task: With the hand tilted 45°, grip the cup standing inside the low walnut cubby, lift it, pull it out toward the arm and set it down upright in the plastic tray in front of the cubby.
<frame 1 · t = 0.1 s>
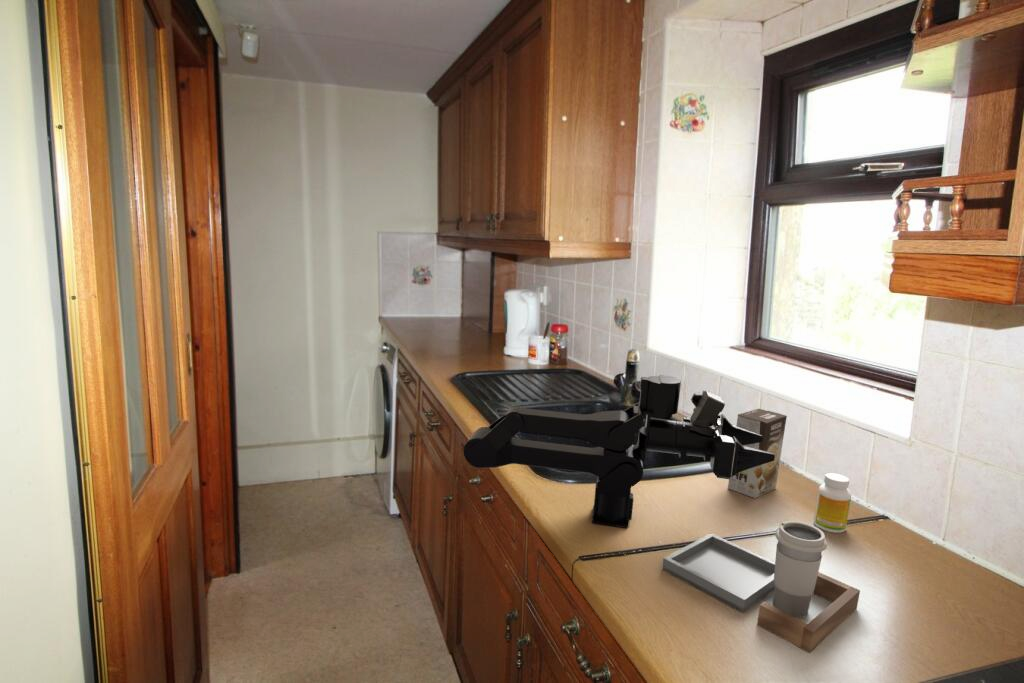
hand: (768, 447, 108), 17 cm above the worktop, tool horizontal, fingers open, 9 cm apart
cup: (789, 608, 91), resting in cubby
tray: (724, 575, 98), on the worktop
cubby: (790, 607, 91), on the worktop
coffee box: (751, 489, 132), on the worktop
supplement bottle: (829, 527, 117), on the worktop
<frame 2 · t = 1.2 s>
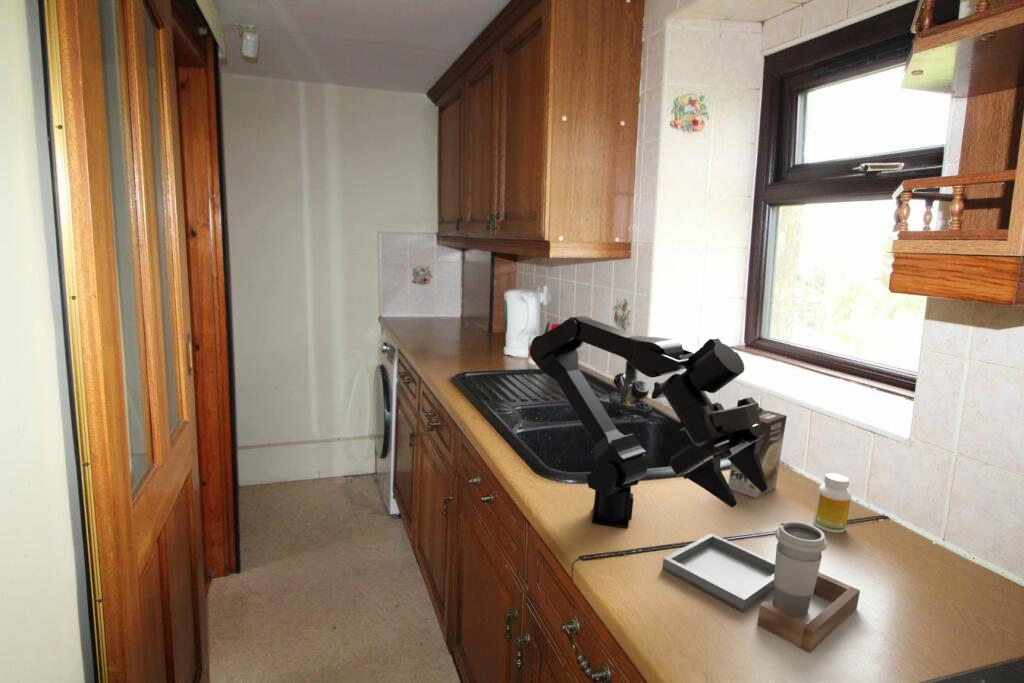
hand: (750, 498, 94), 14 cm above the worktop, tool tilted 45°, fingers open, 9 cm apart
nothing on the worktop moved.
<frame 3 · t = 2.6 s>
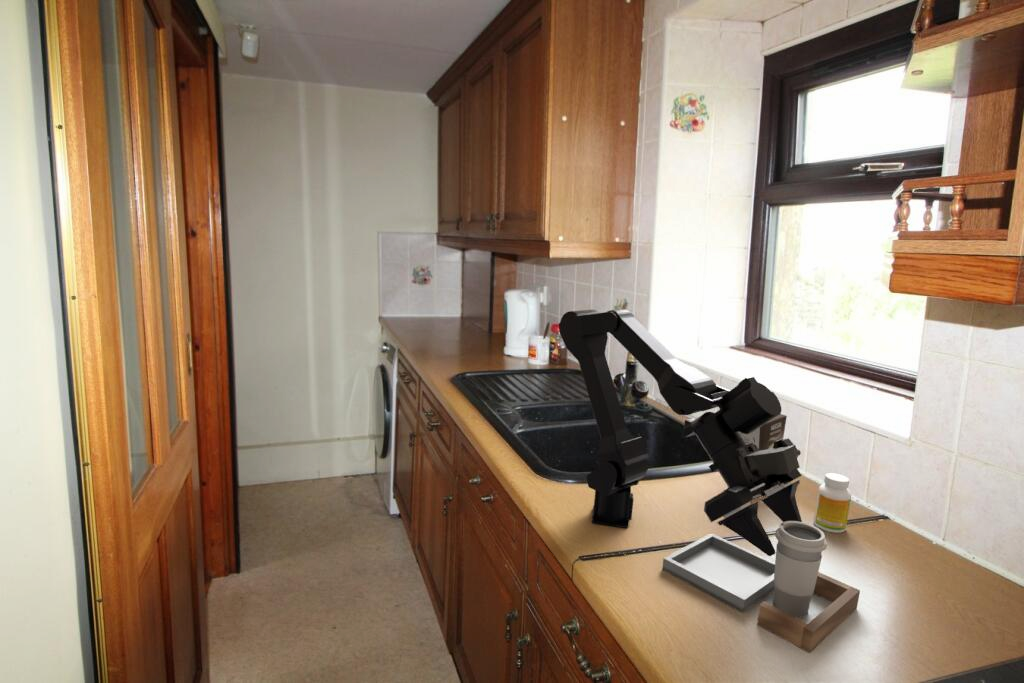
hand: (788, 544, 90), 9 cm above the worktop, tool tilted 45°, fingers open, 9 cm apart
nothing on the worktop moved.
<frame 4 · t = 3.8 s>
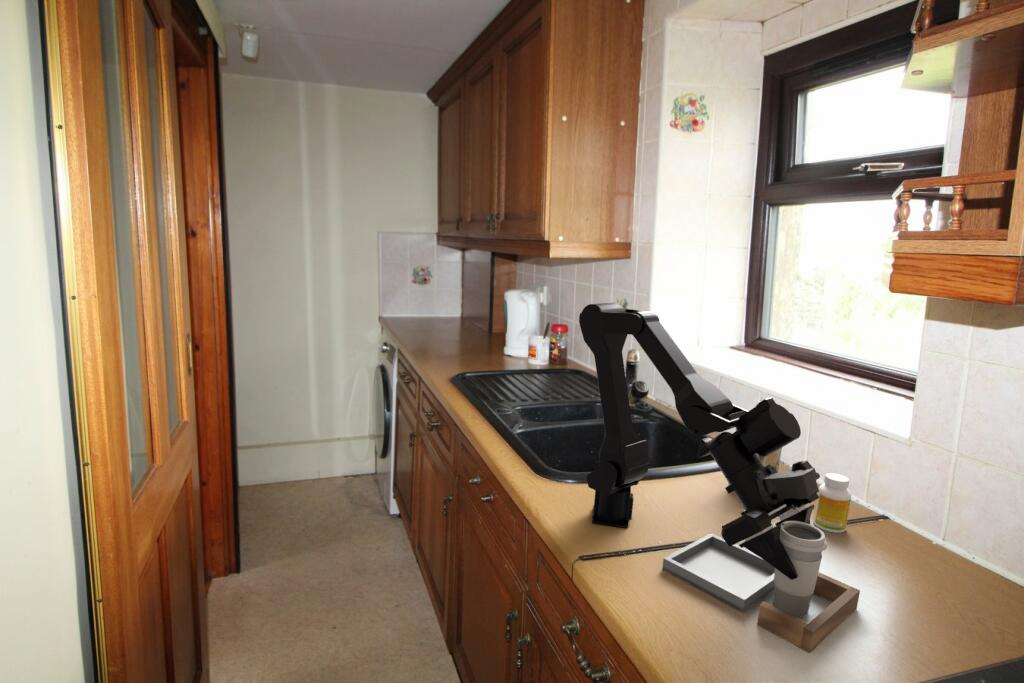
hand: (806, 570, 89), 7 cm above the worktop, tool tilted 45°, fingers closed on cup, 7 cm apart
cup: (789, 608, 91), resting in cubby, touching gripper
everything else where it was.
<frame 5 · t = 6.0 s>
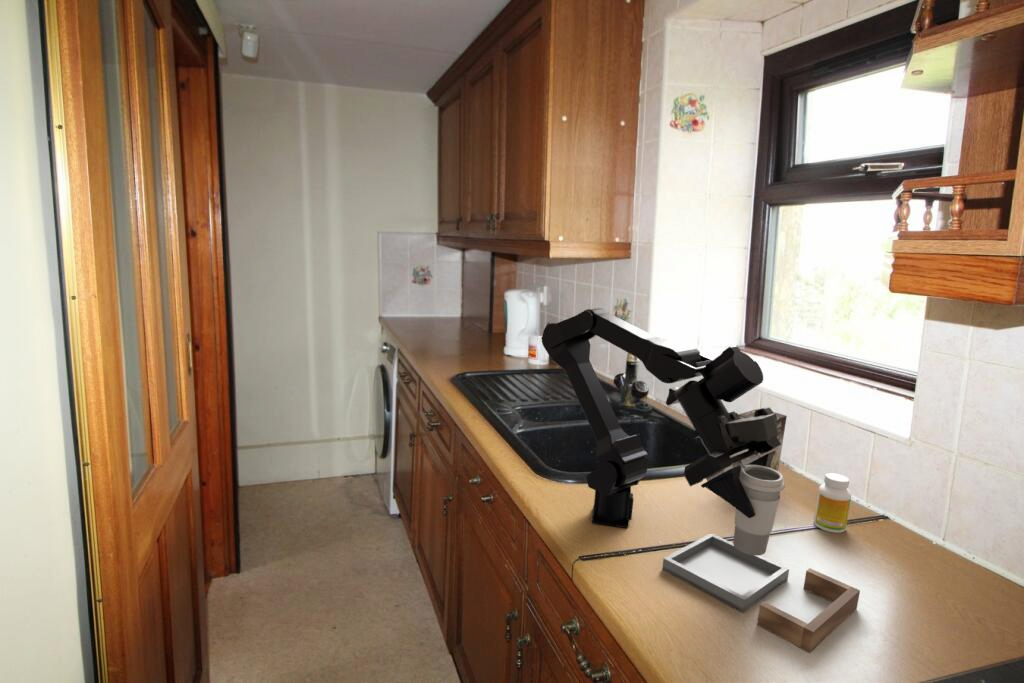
hand: (764, 510, 92), 13 cm above the worktop, tool tilted 45°, fingers closed on cup, 7 cm apart
cup: (749, 548, 95), point 6 cm above the worktop, touching gripper
everything else where it was.
when the fingers open (8 cm above the worktop, at t = 8.0 s): cup drops 1 cm, resting on tray.
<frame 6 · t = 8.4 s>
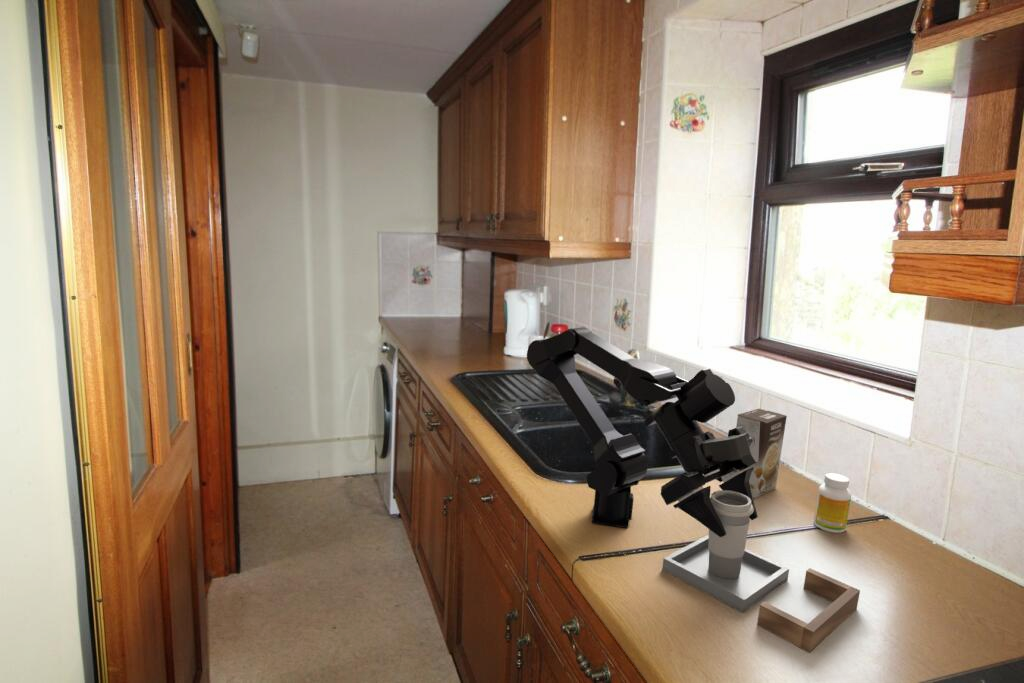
hand: (739, 527, 96), 9 cm above the worktop, tool tilted 45°, fingers open, 9 cm apart
cup: (724, 571, 98), resting on tray
everything else where it was.
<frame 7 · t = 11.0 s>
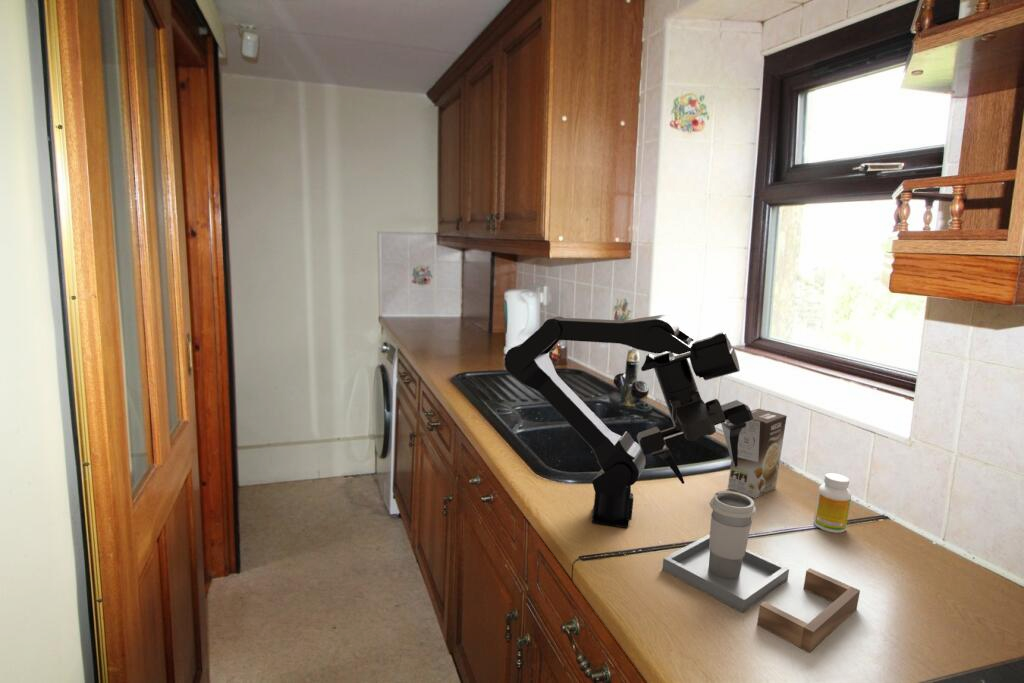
hand: (709, 474, 107), 12 cm above the worktop, tool tilted 25°, fingers open, 9 cm apart
nothing on the worktop moved.
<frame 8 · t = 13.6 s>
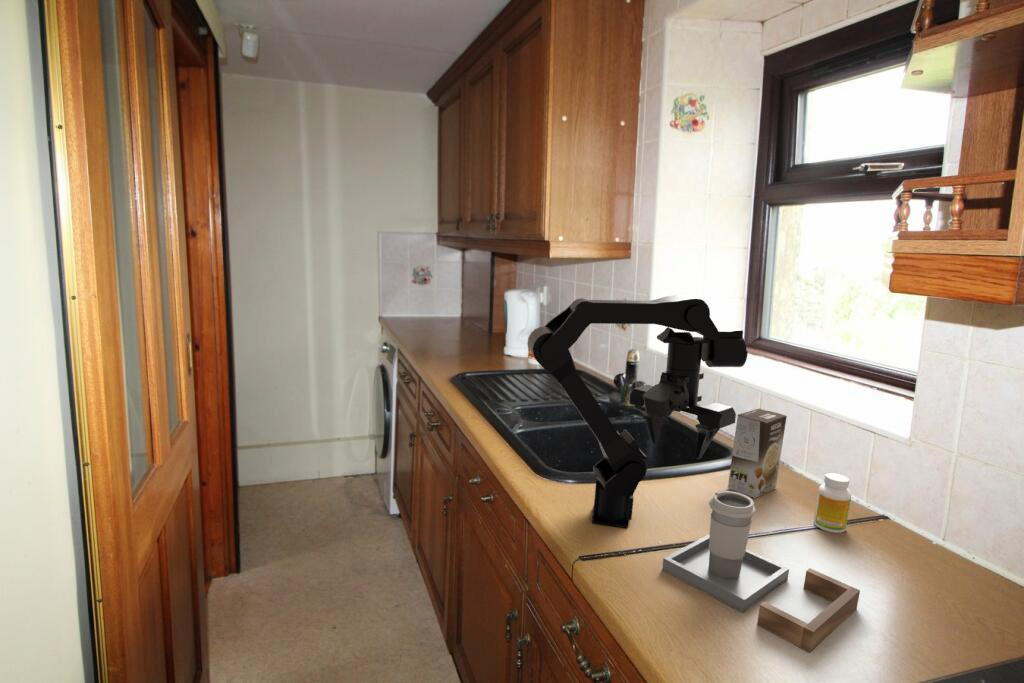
hand: (676, 451, 114), 13 cm above the worktop, tool pointing down, fingers open, 9 cm apart
nothing on the worktop moved.
at the end: cup inside the target area on the tray (0.1 cm from its centre), point 0.4 cm above the tray's base; cup tilted 0°; the gripper is holding nothing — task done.
